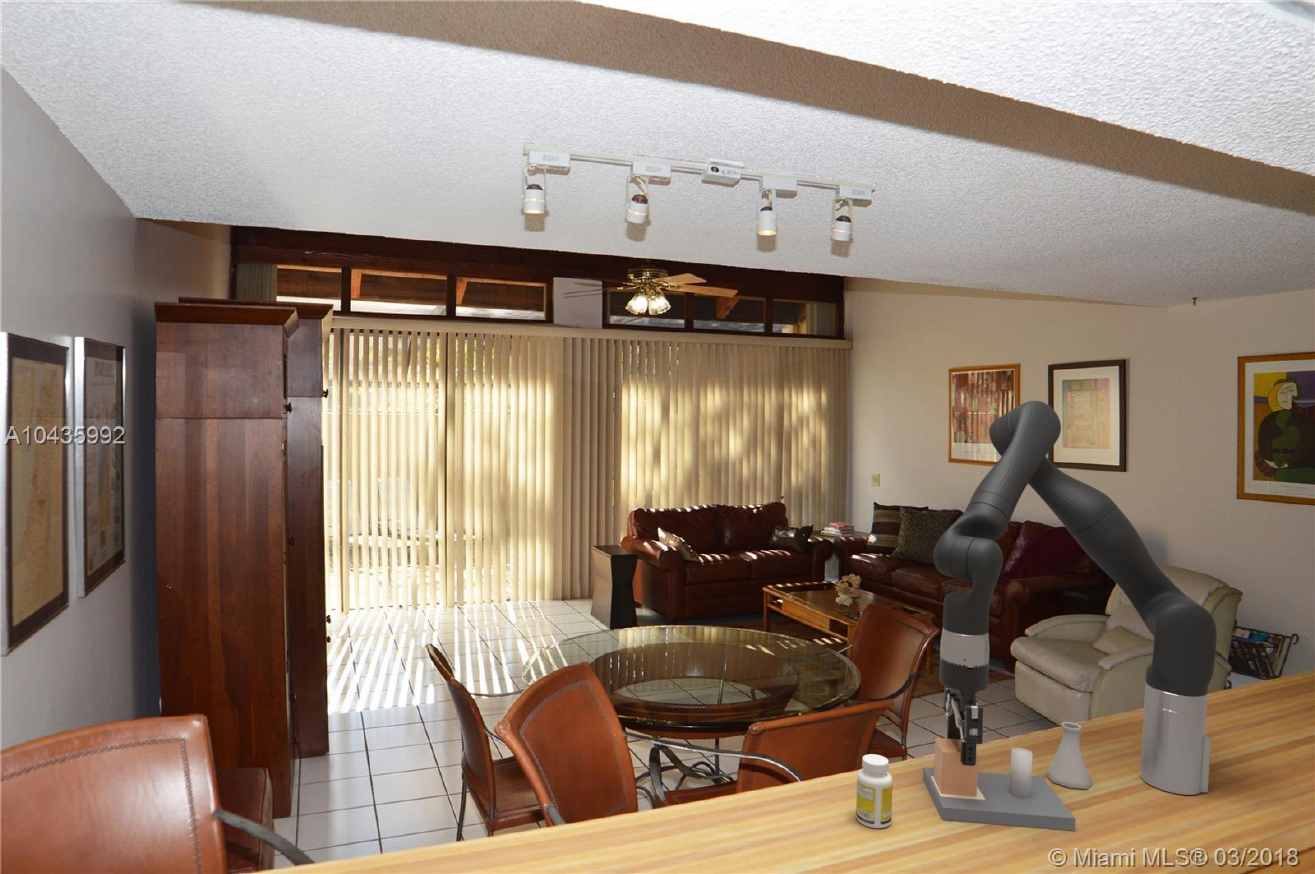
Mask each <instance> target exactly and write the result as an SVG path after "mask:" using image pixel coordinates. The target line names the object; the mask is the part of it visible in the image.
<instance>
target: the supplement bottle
mask: <svg viewBox="0 0 1315 874" xmlns="http://www.w3.org/2000/svg"><path fill="white" fill-rule="evenodd" d="M861 761H862V762H861V765H862V766H861V767H862V768H861V769H860V770H858V772H857V776H856V777H857V778H856V779H857V780H856V805H855V810H856V812H855V816H856V819H857V821H858V822H859V823H860V824H862V825H863V826H866V827H868V828H873V829H883V828H884V829H885V828H887V827H889V826H890V825H891V824H892V815H893V813H892V810H893V807H892V806H893V776H892V775H891V774H890V773H889V772H888V771H889V770H890V769H889V768H890V767H889V765H890V764H889V760H888V758H887V757H885V756H883V755H880V754H872V753H869V754H865V755H863V756H862V759H861Z"/></svg>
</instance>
